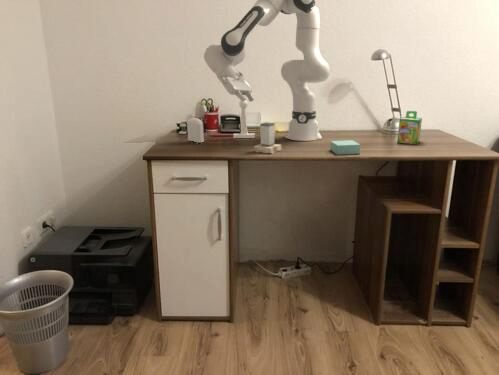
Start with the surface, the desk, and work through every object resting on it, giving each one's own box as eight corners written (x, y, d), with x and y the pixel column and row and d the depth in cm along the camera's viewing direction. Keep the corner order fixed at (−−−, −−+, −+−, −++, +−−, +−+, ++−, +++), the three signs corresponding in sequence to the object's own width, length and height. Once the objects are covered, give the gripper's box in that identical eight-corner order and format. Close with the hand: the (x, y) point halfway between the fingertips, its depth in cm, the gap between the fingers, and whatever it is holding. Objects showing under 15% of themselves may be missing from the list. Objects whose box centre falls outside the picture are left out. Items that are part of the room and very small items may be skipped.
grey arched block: (186, 141, 218) (185, 117, 214) (194, 140, 221) (192, 116, 217) (197, 144, 210) (196, 119, 207) (205, 143, 213) (203, 118, 209)
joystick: (233, 139, 222) (232, 100, 216) (234, 136, 229) (233, 98, 223) (254, 139, 221) (254, 99, 216) (254, 136, 229) (254, 98, 223)
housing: (266, 144, 195) (265, 122, 192) (274, 145, 193) (274, 123, 190) (260, 145, 192) (260, 123, 189) (269, 146, 189) (269, 124, 186)
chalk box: (397, 143, 204) (399, 112, 200) (400, 139, 212) (402, 109, 208) (417, 144, 200) (420, 112, 196) (419, 141, 208) (423, 110, 204)
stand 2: (330, 149, 193) (331, 141, 191) (352, 149, 194) (352, 140, 192) (337, 154, 183) (337, 145, 182) (359, 153, 184) (360, 144, 183)
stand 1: (264, 148, 199) (264, 142, 198) (281, 150, 194) (281, 144, 193) (253, 151, 192) (253, 146, 191) (270, 153, 187) (270, 148, 186)
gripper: (224, 70, 180) (244, 95, 179) (243, 73, 199) (261, 96, 198) (214, 80, 183) (234, 105, 182) (234, 83, 202) (251, 105, 200)
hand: (248, 100), depth 190 cm, fingers open, 8 cm apart
